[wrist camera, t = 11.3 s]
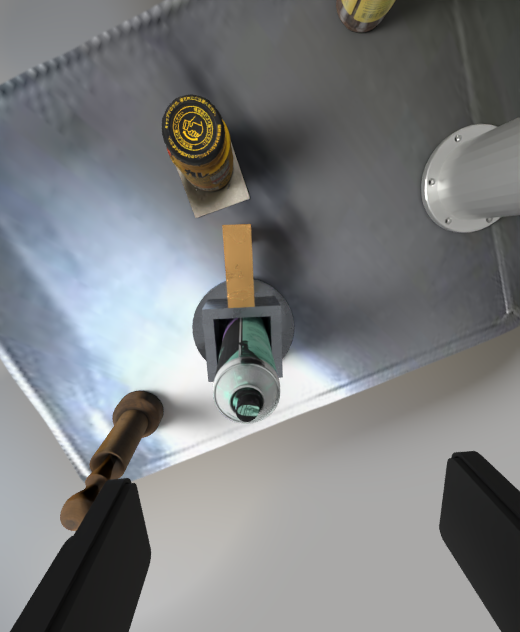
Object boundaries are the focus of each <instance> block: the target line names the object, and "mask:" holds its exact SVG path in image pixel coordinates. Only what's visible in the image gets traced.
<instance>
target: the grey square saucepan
mask: <svg viewBox="0 0 520 632" xmlns="http://www.w3.org/2000/svg"><path fill="white" fill-rule="evenodd" d="M222 227H223V241H224V255H225V269H226V281H225V282H223V283H220V284H219V285H217V286H215V287H214V288H212V289H211V290H210V291H209V292H208V293H207V294H206V295H205V296H204V297H203V299H202V300H201V301H200V303H199V305H198V307H197V309H196V311H195V314H194V318H193V326H192V327H193V337H194V341H195V344H196V346H197V349H198V351H199V352H200V354H201V355H202V357H203V358H204V359H205V360H206V361H207V371H208V381H209V382H214V379H215V374H216V369H217V364H218V360H219V355H220V350H221V345H222V341H223V336H224V331H225V326H226V323H227V321H228V319H229V318H245V317H261V318H262V319H263V321H264V324H265V328H266V331H267V335H268V339H269V343H270V347H271V351H272V355H273V358H274V362H275V366H276V370H277V374H278V378H279V377H283V376H282V358H283V357H284V356H285V355H286V353H287V352H288V350H289V348H290V346H291V343H292V340H293V335H294V320H293V315H292V312H291V309H290V307H289V305H288V303H287V302H286V300H285V299H284V298H283V296H282V295H281V294H280V293H279V292H278V291H277V290H276V289H274V288H273V287H272V286H270V285H268V284H266V283H264V282H262V281H259V280H255V279H253V261H252V240H251V224H240V225H222Z"/></svg>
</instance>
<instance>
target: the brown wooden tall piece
mask: <svg viewBox="0 0 520 632" xmlns="http://www.w3.org/2000/svg"><path fill="white" fill-rule="evenodd" d="M162 417H163V406H162V403H161V401H160V400H159V399H158V398H157V397H156V396H155V395H153V394H151V393H149V392H145V391H135V392H131V393H129V394H127V395H126V396H125V397H123V399H122V400H121V401H120V402H119V404H118V405H117V406H116V408H115V410H114V412H113V424H114V427H113V428H112V430H111V431H110V433H109V434H108V436H107V437H106V438H105V440H104V441H103V443H102V444H101V446H100V447H99V448H98V450H97V451H96V453H95V454H94V455H93V457H92V458H91V460H90V469H91V471H92V473H91V474H90V475H89V476H88V477H87V479H86V481H85V484H86V488H85V489H84V490H82V491H80V492H78V493H76V494H75V495H73V496H72V497H70V498H69V499H68V500H67V501H66V503H65V504H64V506H63V508H62V510H61V515H60V520H61V523H62V525H63V526H64V527H65V528H66V529H68V530H71V531H77V529H78V527H79V526H80V524H81V522H82V521H83V519H84V517H85V515H86V514H87V512H88V510H89V509H90V507H91V505H92V504H93V502H94V500H95V499H96V497H97V495H98V494H99V492H100V490H101V489H102V487H103V485H104V484H105V483H106V481H108V480H110V479H118V478H120V477H121V476H122V475H123V474H124V472H125V470H126V468H127V466H128V464H129V462H130V460H131V458H132V456H133V454H134V452H135V450H136V448H137V446H138V444H139V442H140V440H141V438H144V437H147V436H149V435H151V434H152V433H153V432H154V431H155V430H156V429H157V427H158V425H159V423H160V421H161V419H162Z"/></svg>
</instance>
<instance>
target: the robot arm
mask: <svg viewBox="0 0 520 632" xmlns="http://www.w3.org/2000/svg"><path fill="white" fill-rule="evenodd" d="M428 182H429V183H428ZM421 195H422V200H423V205H424V207H425V209H426V212H427V214H428V215H429V216H430V218H431V219H432V220H433V221H434V222H435V223H436V224H437V225H438V226H440V227H442V228H443V229H445V230H448V231H452V232H460V233H465V232H474V231H478V230H481V229H483V228H486V227H488V226H490V225H491V224H493V223H494V222H496V221H497V220H498V219H499V218H500V217H505V216H515V215H520V117H519V118H516V119H514V120H512V121H510V122H508V123H505V124H503V125H501V126H499V127H497V126H494V125H490V124H476V125H471V126H468V127H465V128H462V129H460V130H458V131H456V132H455V133H453V134H451V135H450V136H449V137H447V138H446V139H444V140H443V141H442V142H441V143H440V144H439V145H438V146H437V147H436V149H435V150H434V152H433V153H432V154H431V156H430V158H429V160H428V162H427V164H426V166H425V169H424V173H423V176H422V183H421ZM439 529H440V533H441V536H442V538H443V540H444V542H445V544H446V545H447V547H448V549H449V550H450V552H451V553H452V555H453V556H454V558H455V560H456V561H457V563H458V564H459V566H460V567H461V569H462V571H463V572H464V574H465V575H466V577H467V578H468V580H469V581H470V583H471V585H472V586H473V588H474V589H475V591H476V593H477V594H478V595H479V597H480V599H481V600H482V602H483V604H484V605H485V607H486V608H487V610H488V611H489V613H490V614H491V616H492V618H493V619H494V621H495V622H496V624H497V626H498V627H499V629H500V630H501V632H520V491H519V490H518V489H516V488H515V487H514V486H513V485H512V484H511V483H510V482H509V481H508V480H507V479H506V478H505V477H504V476H503V475H502V474H501V473H500V472H498V471H497V470H496V469H495V468H494V467H493V466H492V465H491V464H490V463H489V462H488V461H487V460H486V459H484V457H483V456H481V455H480V454H479V453H478V452H475V451H469V452H456V453H453V454H452V458H449V459H448V462H447V468H446V476H445V484H444V493H443V500H442V508H441V517H440V524H439ZM150 559H151V548H150V544H149V539H148V535H147V530H146V526H145V521H144V517H143V512H142V508H141V503H140V499H139V494H138V490H137V486H136V484H135V483H131V480H130V479H129V478H123V479H110V480H108V481H106V483H105V484H104V485H103V487H102V489H101V490H100V492H99V494H98V495H97V497H96V499H95V500H94V502H93V504H92V505H91V507H90V509H89V510H88V512H87V514H86V515H85V517H84V519H83V521H82V522H81V524H80V526H79V527H78V529H77V531H76V532H75V534H74V536H71V537H70V538H69V539H68V540H67V541H66V542H65V544H64V545H63V546H62V548H61V549H60V551H59V553H58V554H57V556H56V557H55V559H54V561H53V562H52V564H51V566H50V567H49V569H48V571H47V572H46V574H45V575H44V577H43V579H42V580H41V582H40V584H39V585H38V587H37V588H36V590H35V592H34V593H33V595H32V597H31V598H30V600H29V601H28V603H27V605H26V606H25V608H24V610H23V612H22V613H21V615H20V616H19V618H18V619H17V621H16V623H15V624H14V626H13V628H12V629H11V631H10V632H129V629H130V626H131V622H132V619H133V616H134V613H135V609H136V606H137V603H138V600H139V597H140V594H141V590H142V587H143V584H144V581H145V577H146V574H147V571H148V568H149V564H150Z"/></svg>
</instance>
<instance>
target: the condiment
mask: <svg viewBox="0 0 520 632" xmlns="http://www.w3.org/2000/svg"><path fill="white" fill-rule="evenodd" d="M162 135H163V139H164V142H165V144H166V146H167V150H168V153H169V156H170V158H171V160H172V161H173V163H174V164H175V165H176V167H177V170H178V173H179V175H180V178H181V180H182V183H183V186H184V189H185V191H186V194H187V196H188V199H189V202H190V204H191V207H192V210H193V212H194V215H195V217H196V218H197V217H200V216H203V215H206V214H208V213H211V212H214V211H217V210H220V209H222V208H225V207H228V206H231V205H233V204H236V203H239V202H242V201H244V200H247V199H250V197H249V194H248V191H247V188H246V185H245V182H244V179H243V176H242V173H241V170H240V167H239V164H238V161H237V158H236V155H235V152H234V149H233V146H232V143H231V139H230V134H229V131H228V128H227V126H226V124H225V122H224V121H223V120H222V117H221V115H220V113H219V112H218V110H217V109H216V108H215V106H214V105H213V104H211V103H210V101H209V100H207V99H206V98H204V97H201V96H197V95H185V96H181V97H178V98H176V99H175V100H173V102H172V103H171V104H170V105H169V106H168V107H167V109H166V111H165V114H164V116H163V118H162ZM228 184H230V186H228ZM228 187H229V190H227V188H228ZM196 189H197V191H196Z"/></svg>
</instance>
